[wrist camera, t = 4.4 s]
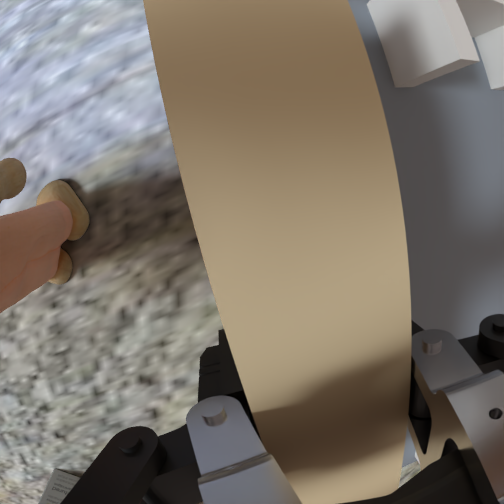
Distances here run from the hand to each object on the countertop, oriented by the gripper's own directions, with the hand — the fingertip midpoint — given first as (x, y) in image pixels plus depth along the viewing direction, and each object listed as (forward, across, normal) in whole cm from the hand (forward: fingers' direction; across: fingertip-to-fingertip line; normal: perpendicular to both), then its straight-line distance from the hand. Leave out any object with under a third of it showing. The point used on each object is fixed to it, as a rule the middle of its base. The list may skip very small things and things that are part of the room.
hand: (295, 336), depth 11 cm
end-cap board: (+3, -10, +1) cm, 11 cm away
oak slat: (0, 0, 0) cm, 0 cm away
